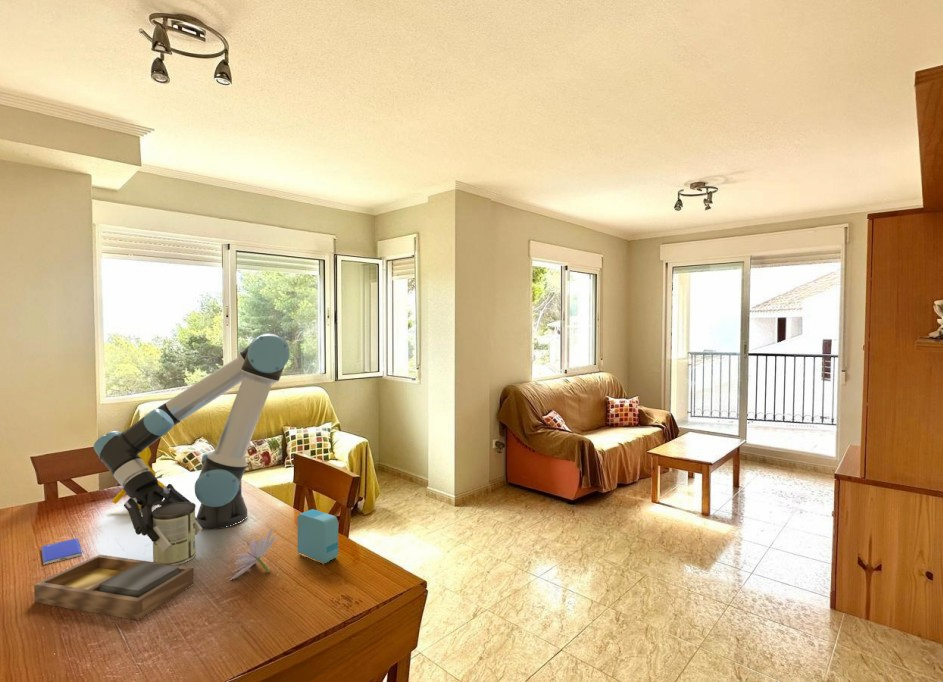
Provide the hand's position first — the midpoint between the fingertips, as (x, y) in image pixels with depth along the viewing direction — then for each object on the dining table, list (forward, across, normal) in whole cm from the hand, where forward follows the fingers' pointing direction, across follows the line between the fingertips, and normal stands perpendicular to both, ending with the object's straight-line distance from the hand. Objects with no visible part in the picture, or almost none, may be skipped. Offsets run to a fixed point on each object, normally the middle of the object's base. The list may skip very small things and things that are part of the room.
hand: (183, 540), depth 133 cm
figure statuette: (-29, -30, -37) cm, 56 cm away
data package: (+29, -10, +21) cm, 37 cm away
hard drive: (-22, +5, -31) cm, 38 cm away
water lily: (+20, +1, +12) cm, 23 cm away
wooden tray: (+3, +18, -5) cm, 19 cm away
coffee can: (+2, 0, -6) cm, 6 cm away
